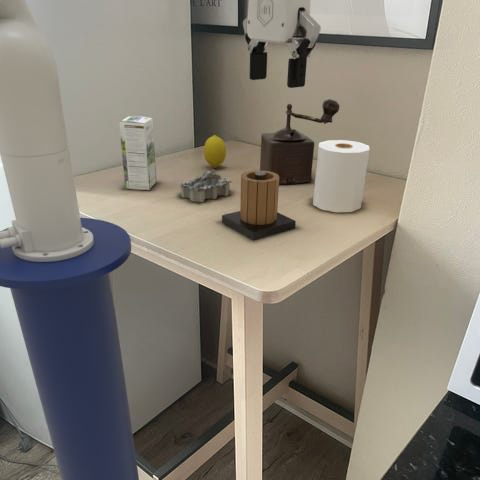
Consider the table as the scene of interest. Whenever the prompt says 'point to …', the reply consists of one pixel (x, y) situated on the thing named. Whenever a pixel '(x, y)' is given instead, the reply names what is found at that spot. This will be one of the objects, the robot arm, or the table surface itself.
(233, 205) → the table surface
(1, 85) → the robot arm
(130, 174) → the syrup box
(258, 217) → the wooden bucket
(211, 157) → the lemon
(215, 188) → the metal cookie cutter
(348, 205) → the toilet paper
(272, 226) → the stand
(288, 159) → the manual coffee grinder
